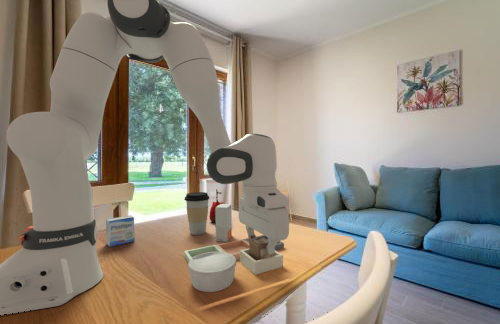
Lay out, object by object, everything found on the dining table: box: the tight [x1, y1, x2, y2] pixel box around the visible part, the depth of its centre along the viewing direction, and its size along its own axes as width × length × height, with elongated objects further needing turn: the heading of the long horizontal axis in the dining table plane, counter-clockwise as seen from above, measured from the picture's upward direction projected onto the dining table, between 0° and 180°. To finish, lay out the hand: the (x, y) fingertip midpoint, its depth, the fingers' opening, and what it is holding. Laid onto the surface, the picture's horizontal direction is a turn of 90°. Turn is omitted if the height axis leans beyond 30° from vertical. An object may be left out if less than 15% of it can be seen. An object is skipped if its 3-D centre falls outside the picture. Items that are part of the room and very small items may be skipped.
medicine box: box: [105, 215, 135, 248], centre depth 82 cm, size 8×4×9 cm, turn 131°
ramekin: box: [187, 252, 237, 293], centre depth 56 cm, size 11×11×5 cm
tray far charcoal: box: [242, 234, 285, 251], centre depth 77 cm, size 10×10×2 cm
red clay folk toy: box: [208, 188, 225, 224], centre depth 106 cm, size 8×7×15 cm
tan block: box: [249, 238, 273, 261], centre depth 64 cm, size 4×5×6 cm
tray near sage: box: [183, 244, 223, 263], centre depth 68 cm, size 10×10×2 cm
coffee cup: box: [183, 191, 210, 236], centre depth 92 cm, size 9×9×15 cm
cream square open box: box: [239, 249, 284, 276], centre depth 64 cm, size 8×8×4 cm
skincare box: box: [215, 203, 233, 242], centre depth 84 cm, size 6×4×12 cm
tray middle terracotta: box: [215, 238, 249, 261], centre depth 72 cm, size 10×10×2 cm
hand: (260, 246), depth 64 cm, fingers open, 8 cm apart
